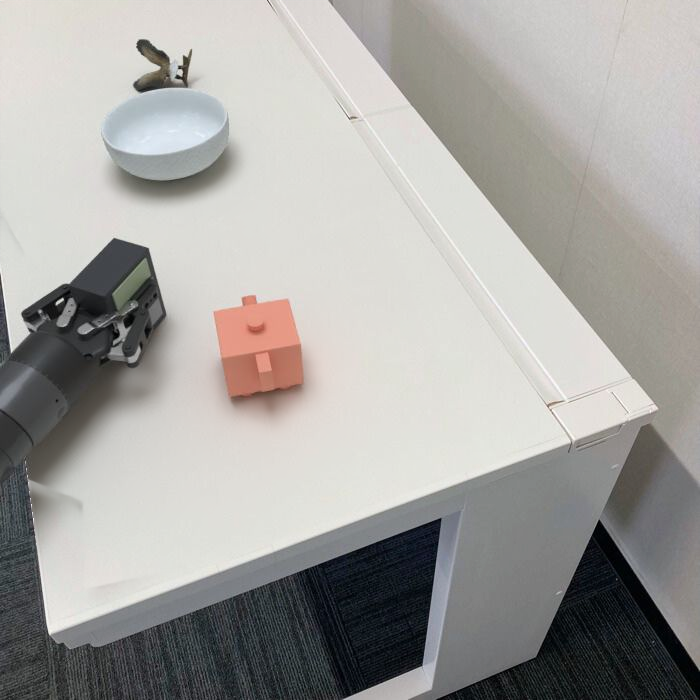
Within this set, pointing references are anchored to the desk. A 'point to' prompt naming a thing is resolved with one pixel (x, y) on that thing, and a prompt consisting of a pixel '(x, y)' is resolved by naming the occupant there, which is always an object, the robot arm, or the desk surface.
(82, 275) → the calculator
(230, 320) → the pink cube teapot
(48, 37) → the desk surface
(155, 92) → the cereal bowl
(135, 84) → the eagle figurine
